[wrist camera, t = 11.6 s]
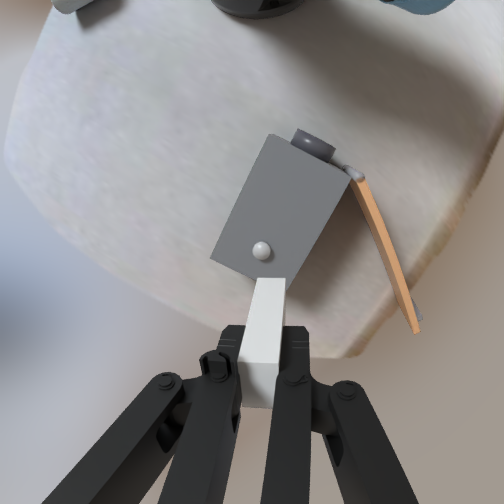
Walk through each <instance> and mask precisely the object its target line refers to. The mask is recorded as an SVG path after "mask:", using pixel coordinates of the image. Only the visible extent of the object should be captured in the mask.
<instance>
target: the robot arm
mask: <svg viewBox="0 0 504 504" xmlns="http://www.w3.org/2000/svg"><path fill="white" fill-rule="evenodd" d="M211 1H212V2H213V3H214V4H215V5H216V6H217V7H218V8H220V9H221V10H223V11H225V12H226V13H229V14H231V15H234V16H237V17H242V18H249V19H264V18H271V17H276V16H279V15H282V14H285V13H287V12H289V11H291V10H293V9H295V8H296V7H298V6H299V5H300V4H301V3H302V2H303V1H304V0H211ZM380 1H381V2H383V3H386V4H392V5H395V6H397V7H400V8H402V9H404V10H406V11H408V12H411V13H413V14H420V15H430V14H433V13H436V12H439V11H441V10H443V9H444V8H446V7H447V6H449V5H450V4H451V3H452V2H454V1H455V0H380ZM285 308H286V278H257V282H256V286H255V291H254V295H253V299H252V303H251V307H250V311H249V315H248V320H247V324H246V326H245V325H228V326H227V327H226V328H225V329H224V330H223V331H222V334H221V337H220V340H219V343H218V346H217V349H216V350H212V351H209V352H207V353H205V354H203V355H202V356H201V358H200V359H199V361H200V366H201V370H202V376H199V377H197V378H192V379H185V380H182V379H181V378H180V376H179V375H177V374H175V373H171V372H165V373H161V374H158V375H156V376H155V377H154V378H152V380H151V381H150V382H149V383H148V384H147V385H146V386H145V388H144V389H143V390H142V391H141V392H140V393H139V394H138V396H137V397H136V398H135V399H134V400H133V401H132V402H131V404H130V405H129V406H128V407H127V408H126V409H125V411H123V413H122V414H121V415H120V416H119V417H118V418H117V420H116V421H115V422H114V423H113V424H112V425H111V426H110V427H109V429H108V430H107V431H106V432H105V433H104V434H103V435H102V436H101V437H100V439H99V440H98V441H97V442H96V443H95V444H94V445H93V447H92V448H91V449H90V450H89V451H88V452H87V453H86V455H85V456H84V457H83V458H82V459H81V460H80V461H79V462H78V463H77V464H76V466H75V467H74V468H73V469H72V470H71V471H70V472H69V474H68V475H67V476H66V477H65V478H64V479H63V480H62V481H61V483H59V485H58V486H57V487H56V488H55V489H54V490H53V491H52V492H51V494H50V495H49V496H48V497H47V498H46V499H45V500H44V501H43V502H42V504H139V503H140V501H141V500H142V499H143V497H144V496H145V494H146V493H147V492H148V490H149V489H150V488H151V486H152V485H153V484H154V482H155V481H156V479H157V478H158V476H159V475H160V474H161V472H162V471H163V469H164V468H165V466H166V465H167V464H168V462H169V461H170V459H171V458H172V456H173V455H174V457H173V460H172V463H171V466H170V469H169V472H168V475H167V477H166V480H165V483H164V486H163V489H162V492H161V495H160V498H159V501H158V504H223V500H224V495H225V490H226V485H227V481H228V477H229V472H230V467H231V462H232V458H233V453H234V448H235V443H236V438H237V433H238V428H239V423H240V418H241V415H240V406H241V402H242V406H243V407H251V408H268V409H273V411H272V420H271V428H270V436H269V444H268V452H267V460H266V467H265V474H264V482H263V488H262V496H261V502H260V504H309V490H310V489H309V487H310V461H311V431H313V432H317V433H320V434H322V436H323V439H324V442H325V445H326V448H327V452H328V455H329V458H330V461H331V464H332V467H333V470H334V473H335V476H336V479H337V482H338V485H339V488H340V491H341V494H342V497H343V500H344V504H419V503H418V501H417V499H416V496H415V494H414V492H413V490H412V488H411V485H410V483H409V481H408V479H407V477H406V475H405V473H404V471H403V468H402V467H401V464H400V462H399V460H398V458H397V456H396V454H395V452H394V450H393V447H392V445H391V443H390V441H389V439H388V437H387V435H386V433H385V431H384V429H383V427H382V425H381V423H380V421H379V419H378V417H377V415H376V413H375V411H374V409H373V407H372V405H371V403H370V401H369V399H368V397H367V395H366V393H365V391H364V389H363V388H362V387H361V385H359V384H358V383H356V382H353V381H348V380H347V381H340V382H337V383H335V384H334V385H333V386H329V385H324V384H322V383H319V382H317V381H316V380H315V379H314V378H313V377H312V376H311V374H310V353H309V332H308V331H307V330H306V328H305V327H304V326H285Z"/></svg>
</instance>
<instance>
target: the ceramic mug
mask: <svg viewBox="0 0 504 504" xmlns="http://www.w3.org/2000/svg"><path fill="white" fill-rule="evenodd" d="M92 1H94V0H51V2H52V4H53V5H54V7H55V8H56V9H57V10H58V11H59V12H61V13H63V14H70V13H72V12H74V11H76V10H77V9H79V8H81V7H83V6H84V5H86V4H88V3H90V2H92Z"/></svg>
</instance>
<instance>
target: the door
mask: <svg viewBox="0 0 504 504" xmlns="http://www.w3.org/2000/svg"><path fill="white" fill-rule="evenodd" d="M342 170H343V171H344V172H345V173H347V174H348V175H349V176H350V177H352V178H351V180H350V182H349V183H350V185H351V187H352V190H353V192H354V194H355V196H356V198H357V200H358V203H359V205H360V207H361V209H362V212H363V214H364V216H365V218H366V221H367V223H368V225H369V228H370V230H371V233H372V235H373V237H374V240H375V242H376V245H377V247H378V250H379V252H380V255H381V257H382V260H383V262H384V265H385V268H386V270H387V273H388V276H389V278H390V281H391V284H392V286H393V289H394V292H395V295H396V298H397V301H398V304H399V306H400V308H401V310H402V312H403V314H404V316H405V317H406V319H407V321H408V323H409V325H410V327H411V329H412V331H413V333H414V335H415V334H417V333H419V332H421V331H420V328H419V325H418V321H420V320H422V319H423V317H422V314H421V313H420V311H419V309H418V308H417V306H416V304H415V303H414V301H413V299H412V298H411V296H410V294H409V291H408V288H407V285H406V282H405V279H404V276H403V273H402V270H401V267H400V265H399V262H398V259H397V256H396V253H395V251H394V248H393V245H392V243H391V240H390V237H389V235H388V232H387V230H386V227H385V225H384V222H383V220H382V217H381V215H380V212H379V210H378V208H377V205H376V203H375V201H374V198H373V196H372V194H371V191H370V189H369V187H368V185H367V182H366V180H365V176H364V174H363V173H361V172H359V171H358V170H356V169H354V168H353V167H351V166H349V165H344V166H343V168H342Z"/></svg>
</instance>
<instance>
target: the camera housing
mask: <svg viewBox="0 0 504 504" xmlns="http://www.w3.org/2000/svg"><path fill="white" fill-rule="evenodd" d="M335 150H336V148H334V147H333V146H331V145H329V144H327V143H326V142H324V141H322V140H320V139H318V138H316V137H314V136H312V135H310V134H308V133H306V132H304V131H302V130H300V129H297V131H296V133H295V135H294V137H293V139H292V141H291V143H290V142H288V141H286V140H284V139H282V138H280V137H278V136H276V135H274V134H269V135H268V137H267V139H266V141H265V143H264V145H263V147H262V149H261V151H260V153H259V155H258V157H257V159H256V161H255V163H254V165H253V167H252V169H251V171H250V174H249V176H248V178H247V180H246V182H245V184H244V186H243V188H242V190H241V192H240V194H239V197H238V199H237V201H236V203H235V205H234V207H233V209H232V211H231V213H230V216H229V218H228V220H227V222H226V224H225V226H224V228H223V231H222V233H221V235H220V237H219V239H218V242H217V244H216V246H215V248H214V250H213V252H212V255H211V257H210V259H212V260H214V261H216V262H218V263H220V264H222V265H224V266H226V267H229V268H231V269H233V270H235V271H237V272H239V273H241V274H243V275H245V276H247V277H249V278H251V279H253V280H256V281H257V278H286V291H287V289H288V287H289V286H290V284H291V282H292V281H293V279H294V277H295V276H296V274H297V272H298V271H299V269H300V267H301V266H302V264H303V262H304V261H305V259H306V257H307V256H308V254H309V252H310V251H311V249H312V247H313V245H314V244H315V242H316V240H317V239H318V237H319V235H320V233H321V232H322V230H323V228H324V226H325V225H326V223H327V221H328V219H329V218H330V216H331V214H332V212H333V211H334V209H335V207H336V205H337V204H338V202H339V200H340V198H341V196H342V195H343V193H344V191H345V189H346V187H347V185H348V184H349V182H350V180H351V178H352V177H350V176H349V175H348V174H347V173H345V172H344V171H343V170H341V169H340V168H338V167H336V166H334V165H332V164H331V163H329V161H330V159H331V157H332V156H333V154H334V152H335Z"/></svg>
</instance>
